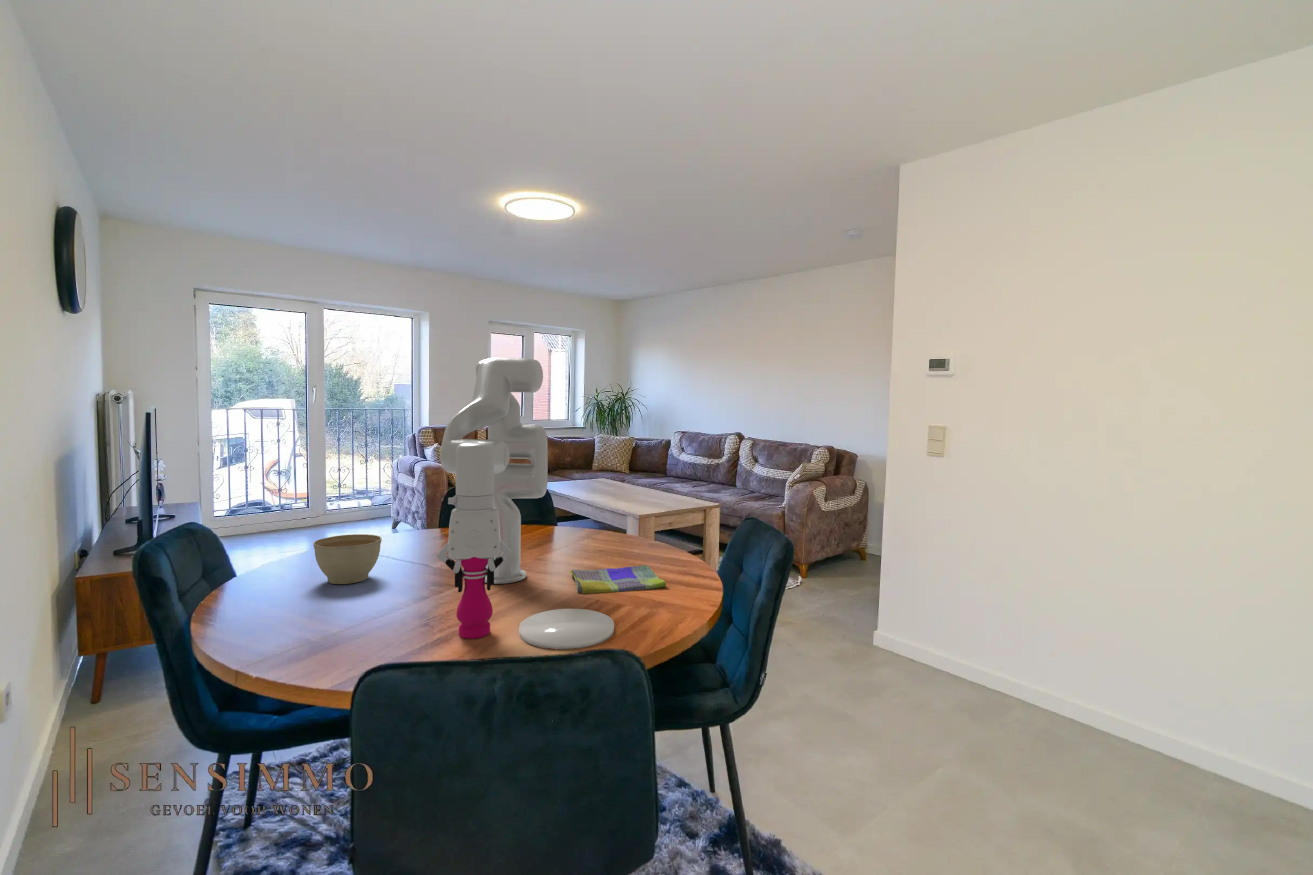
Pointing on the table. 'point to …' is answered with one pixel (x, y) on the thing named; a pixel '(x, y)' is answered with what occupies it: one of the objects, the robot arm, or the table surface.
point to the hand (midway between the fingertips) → (474, 588)
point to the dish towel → (616, 579)
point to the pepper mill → (474, 600)
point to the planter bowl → (347, 557)
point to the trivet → (566, 628)
